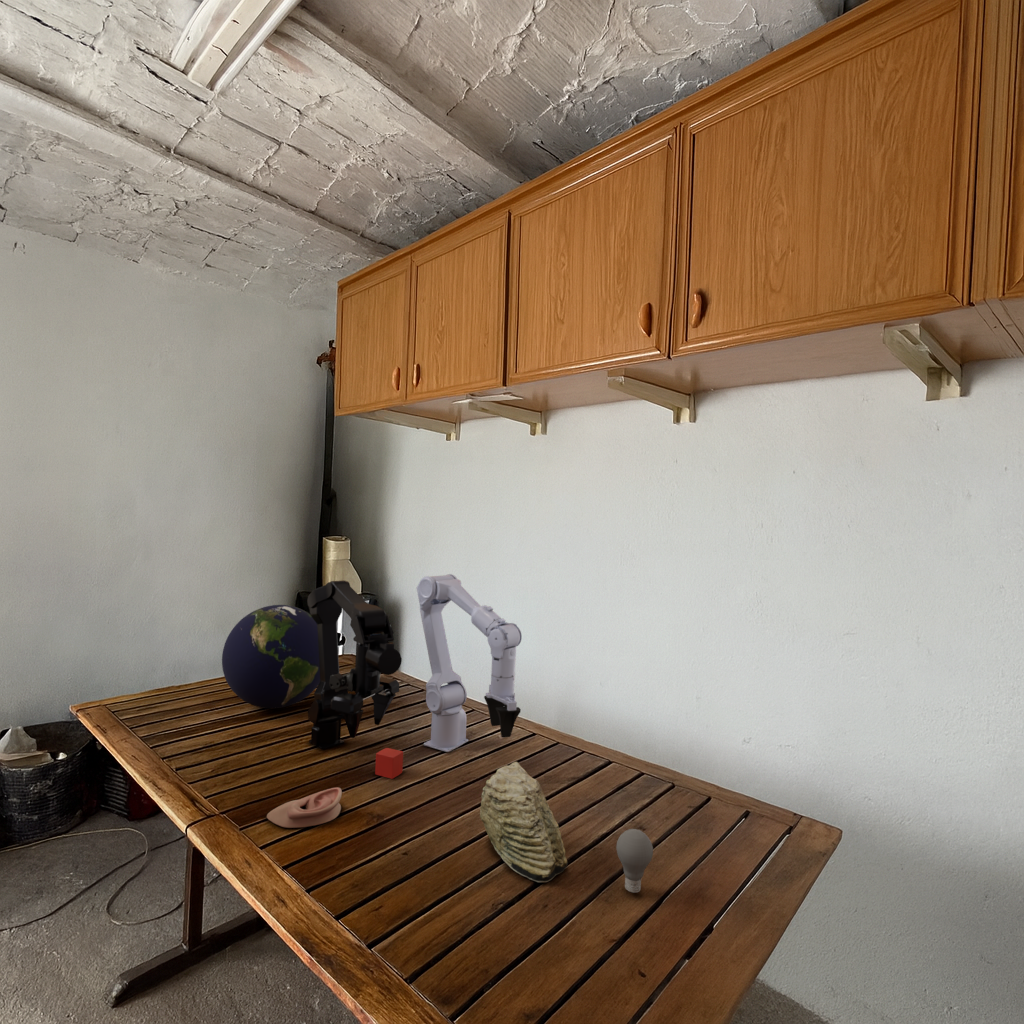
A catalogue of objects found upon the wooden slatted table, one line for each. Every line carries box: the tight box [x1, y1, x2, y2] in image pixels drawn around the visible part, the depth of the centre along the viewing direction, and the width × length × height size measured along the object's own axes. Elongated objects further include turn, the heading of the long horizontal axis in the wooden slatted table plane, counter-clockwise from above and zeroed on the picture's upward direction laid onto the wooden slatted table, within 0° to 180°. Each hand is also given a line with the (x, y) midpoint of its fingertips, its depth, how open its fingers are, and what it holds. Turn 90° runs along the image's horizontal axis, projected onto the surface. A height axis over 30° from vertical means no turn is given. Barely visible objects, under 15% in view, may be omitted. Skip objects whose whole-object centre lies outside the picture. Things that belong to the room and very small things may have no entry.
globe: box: [221, 604, 320, 709], centre depth 188 cm, size 30×30×30 cm
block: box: [374, 747, 404, 780], centre depth 146 cm, size 4×5×5 cm
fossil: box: [479, 761, 569, 883], centre depth 114 cm, size 9×18×15 cm, turn 46°
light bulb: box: [615, 828, 654, 894], centre depth 106 cm, size 6×6×10 cm
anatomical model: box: [266, 786, 343, 829], centre depth 126 cm, size 13×4×12 cm
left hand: (365, 730), depth 146 cm, fingers open, 9 cm apart
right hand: (500, 730), depth 153 cm, fingers open, 7 cm apart
